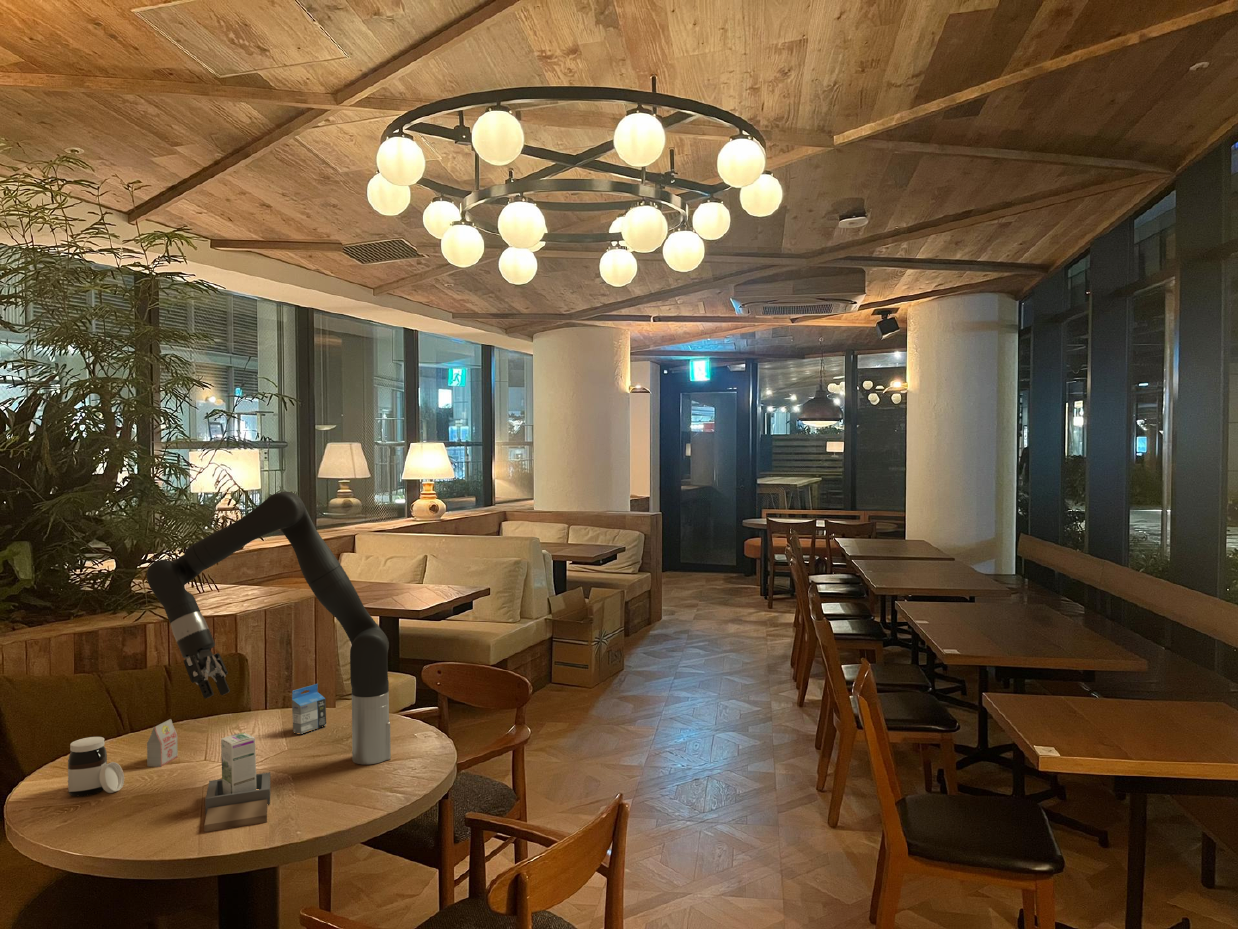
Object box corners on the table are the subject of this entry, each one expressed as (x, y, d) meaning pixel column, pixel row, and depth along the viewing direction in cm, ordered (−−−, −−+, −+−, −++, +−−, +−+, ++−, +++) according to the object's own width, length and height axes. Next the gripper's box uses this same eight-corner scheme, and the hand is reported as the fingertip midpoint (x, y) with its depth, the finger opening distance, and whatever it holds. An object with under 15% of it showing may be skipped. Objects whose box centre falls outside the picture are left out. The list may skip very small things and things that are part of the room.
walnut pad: (267, 805, 183) (267, 799, 183) (266, 822, 175) (266, 815, 175) (207, 815, 179) (207, 808, 179) (204, 832, 171) (204, 825, 171)
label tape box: (301, 736, 231) (300, 692, 231) (291, 733, 233) (291, 690, 233) (326, 727, 238) (326, 685, 238) (317, 724, 240) (317, 683, 240)
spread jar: (71, 786, 196) (71, 738, 196) (126, 777, 201) (125, 730, 201) (64, 804, 185) (63, 753, 185) (122, 795, 190) (121, 745, 190)
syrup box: (257, 799, 187) (257, 736, 187) (231, 808, 183) (230, 743, 182) (246, 793, 191) (246, 731, 191) (220, 801, 186) (220, 737, 186)
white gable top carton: (147, 766, 208) (146, 727, 208) (164, 757, 215) (163, 719, 215) (160, 766, 208) (160, 727, 208) (177, 757, 215) (177, 719, 215)
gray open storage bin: (270, 786, 194) (270, 772, 194) (269, 804, 184) (269, 789, 184) (209, 795, 189) (209, 780, 189) (205, 814, 179) (205, 798, 179)
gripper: (192, 628, 194) (218, 690, 191) (220, 627, 208) (244, 685, 205) (162, 642, 193) (188, 706, 191) (192, 640, 207) (216, 699, 205)
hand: (217, 695), depth 198 cm, fingers open, 8 cm apart
